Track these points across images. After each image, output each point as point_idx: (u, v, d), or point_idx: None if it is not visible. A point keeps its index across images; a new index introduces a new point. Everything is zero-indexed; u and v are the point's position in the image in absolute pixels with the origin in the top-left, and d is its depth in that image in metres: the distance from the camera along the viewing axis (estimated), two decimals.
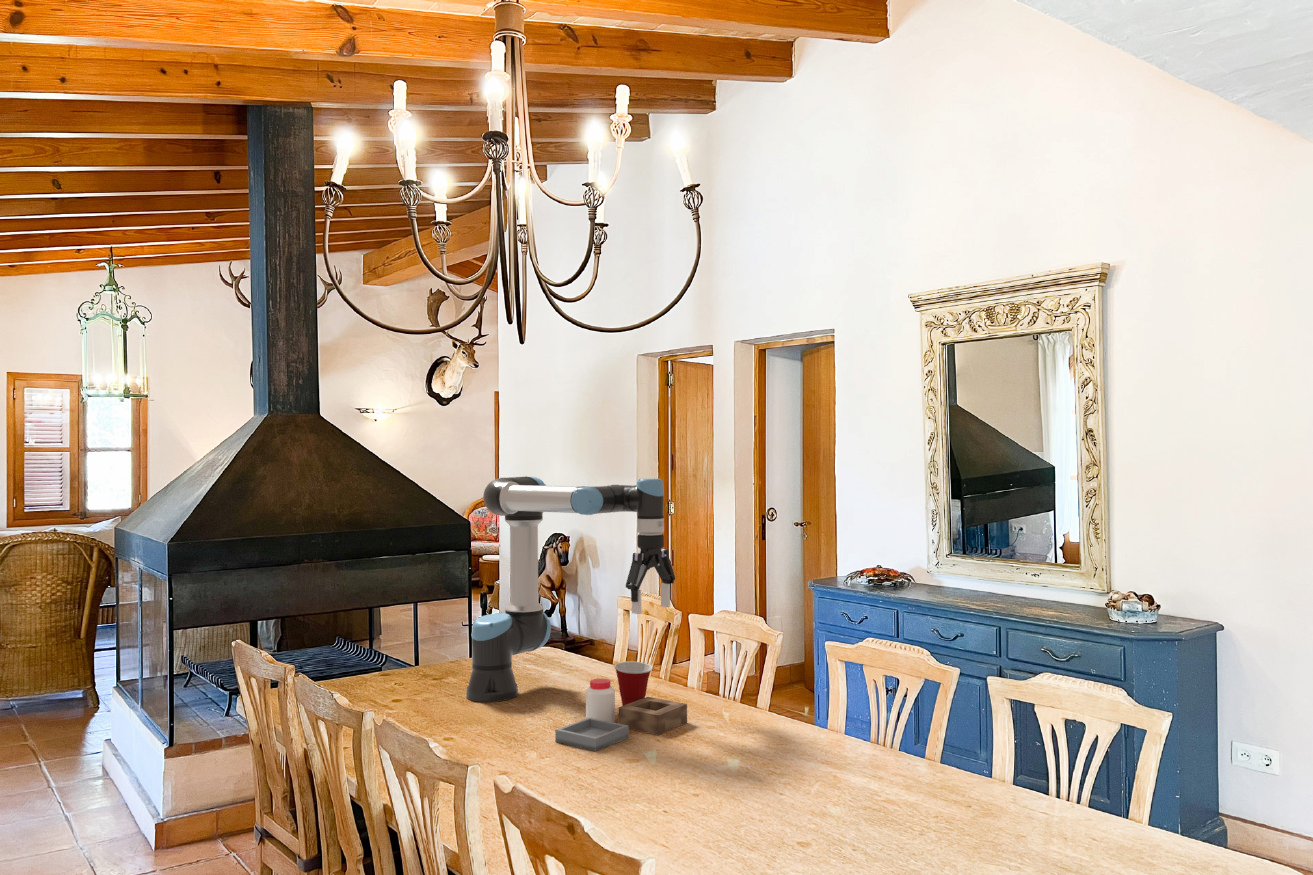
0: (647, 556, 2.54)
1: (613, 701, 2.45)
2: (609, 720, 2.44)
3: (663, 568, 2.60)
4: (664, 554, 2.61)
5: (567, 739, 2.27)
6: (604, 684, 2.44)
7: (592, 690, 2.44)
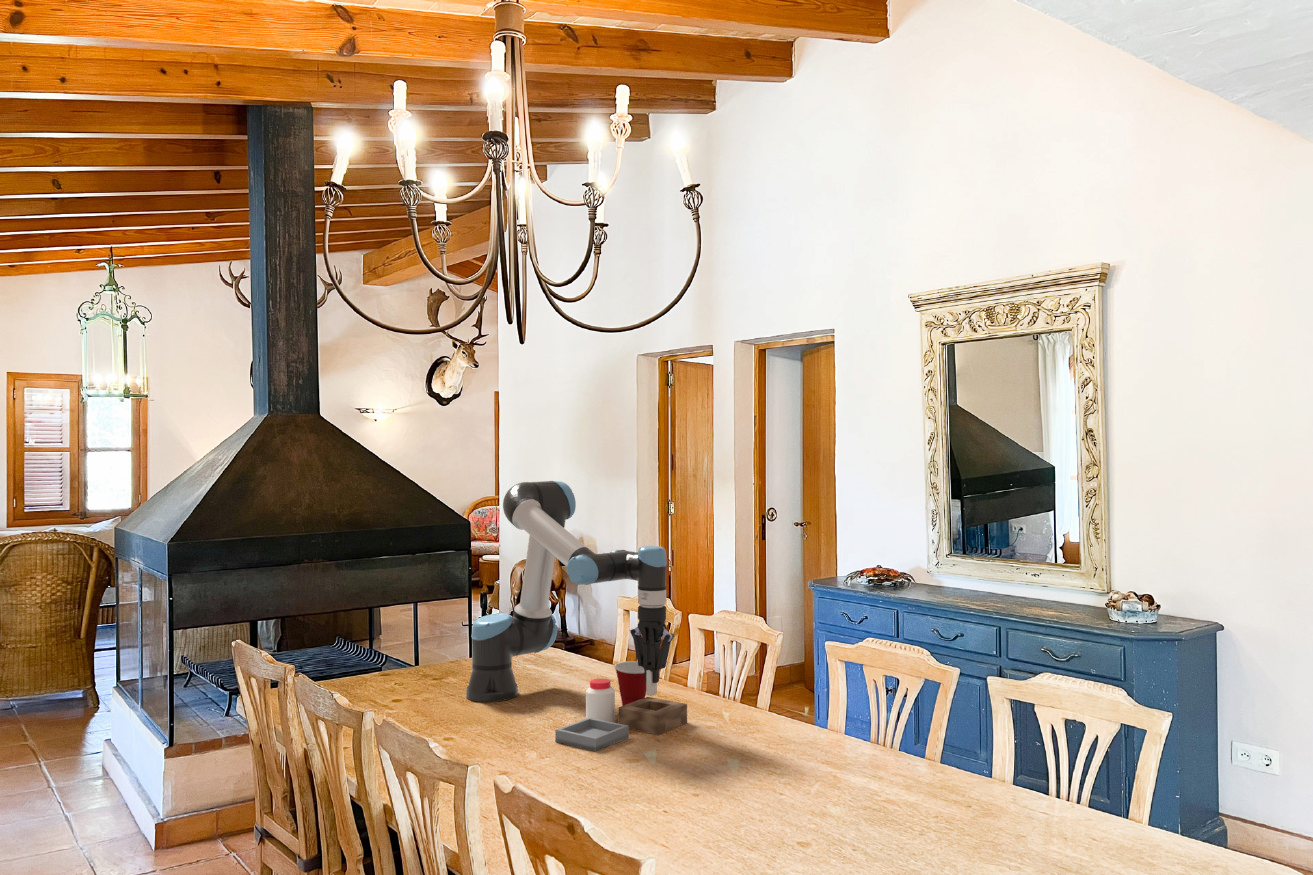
0: (640, 626, 2.45)
1: (613, 701, 2.45)
2: (609, 720, 2.44)
3: (652, 648, 2.42)
4: (664, 636, 2.41)
5: (567, 739, 2.27)
6: (604, 684, 2.44)
7: (592, 690, 2.44)
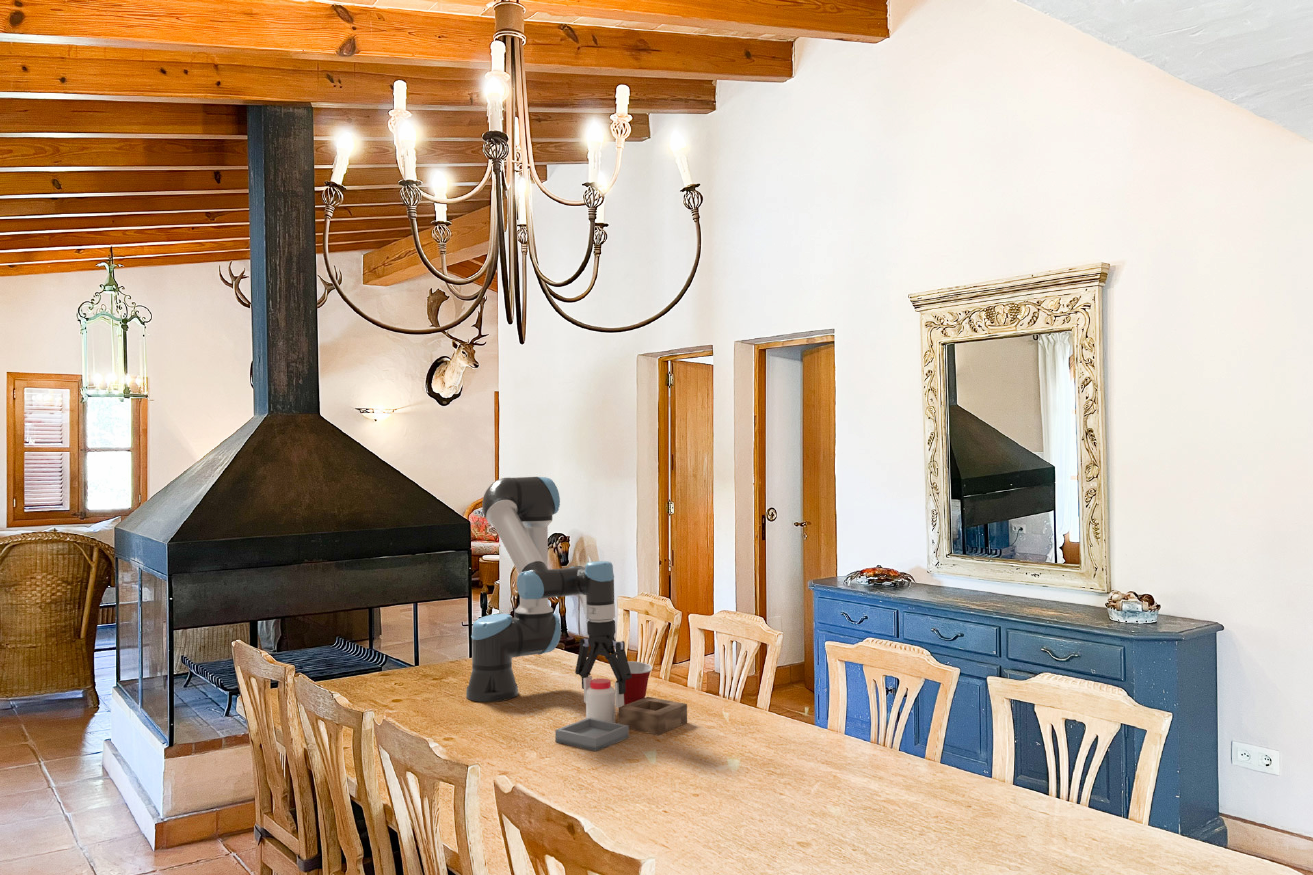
0: (590, 642, 2.47)
1: (613, 701, 2.45)
2: (609, 720, 2.44)
3: (610, 661, 2.43)
4: (615, 646, 2.43)
5: (567, 739, 2.27)
6: (604, 684, 2.44)
7: (592, 690, 2.44)
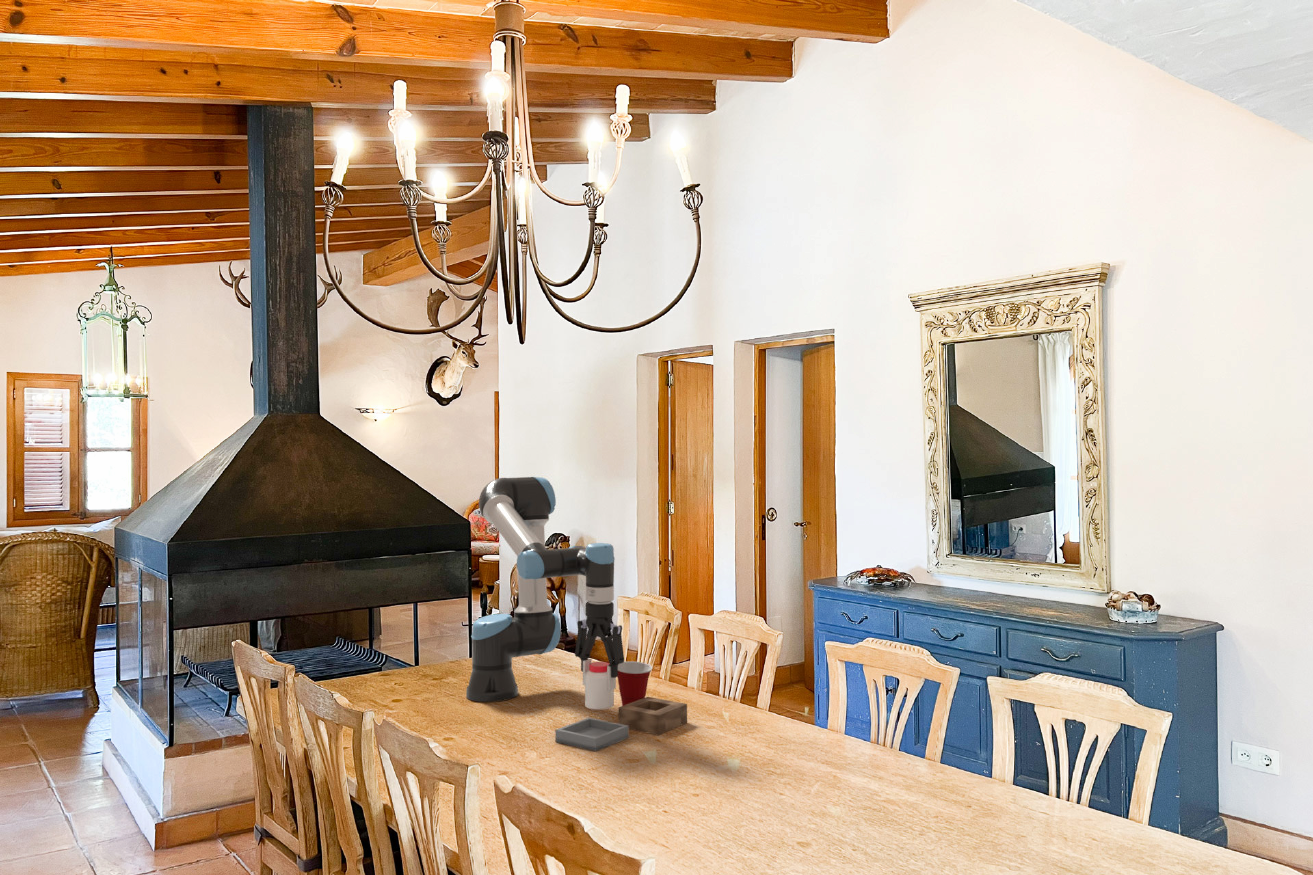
0: (588, 623, 2.48)
1: None
2: (608, 703, 2.44)
3: (605, 644, 2.44)
4: (612, 630, 2.43)
5: (567, 739, 2.27)
6: (603, 667, 2.45)
7: (592, 673, 2.45)
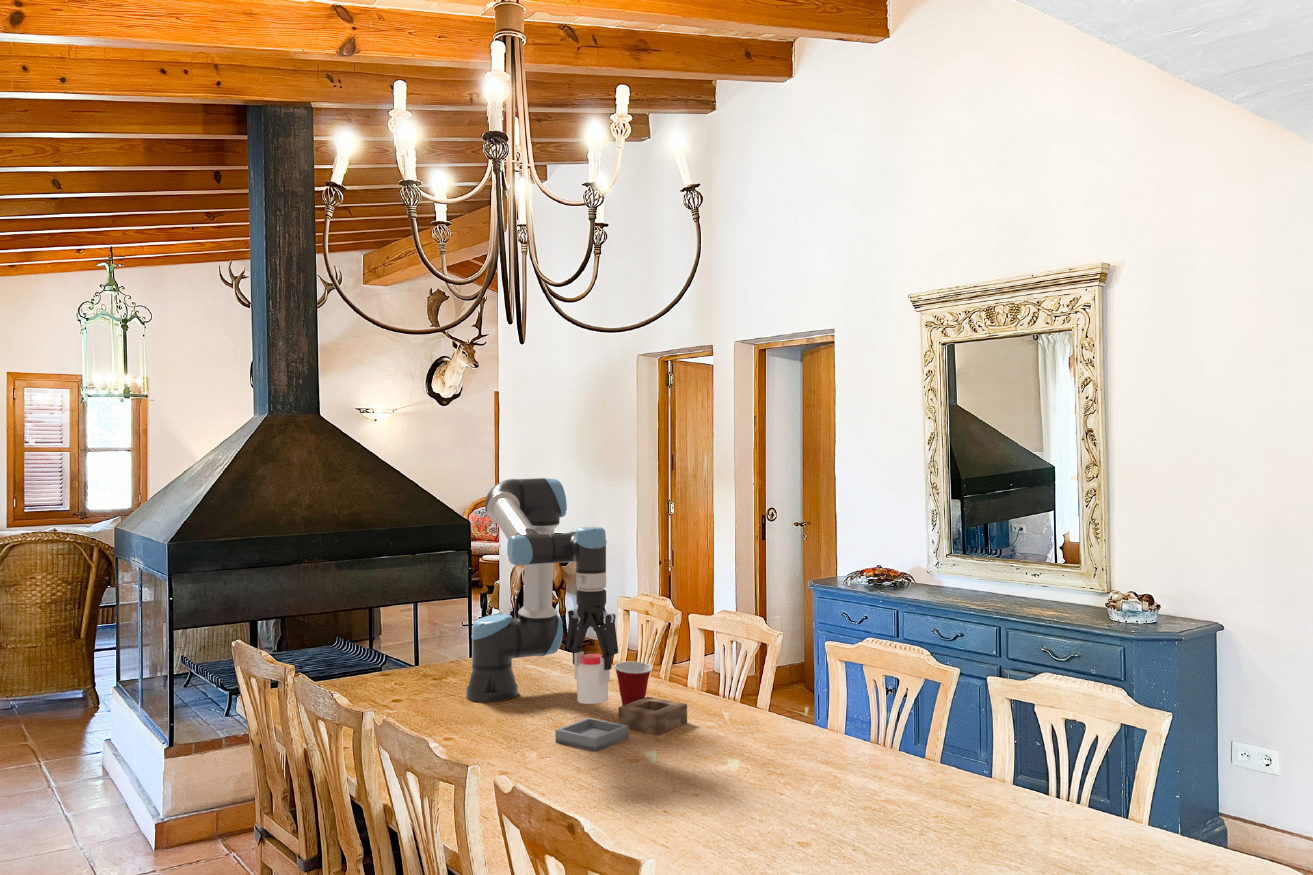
0: (579, 612, 2.33)
1: None
2: (602, 697, 2.29)
3: (598, 634, 2.29)
4: (605, 619, 2.28)
5: (567, 739, 2.27)
6: (596, 659, 2.29)
7: (584, 665, 2.29)
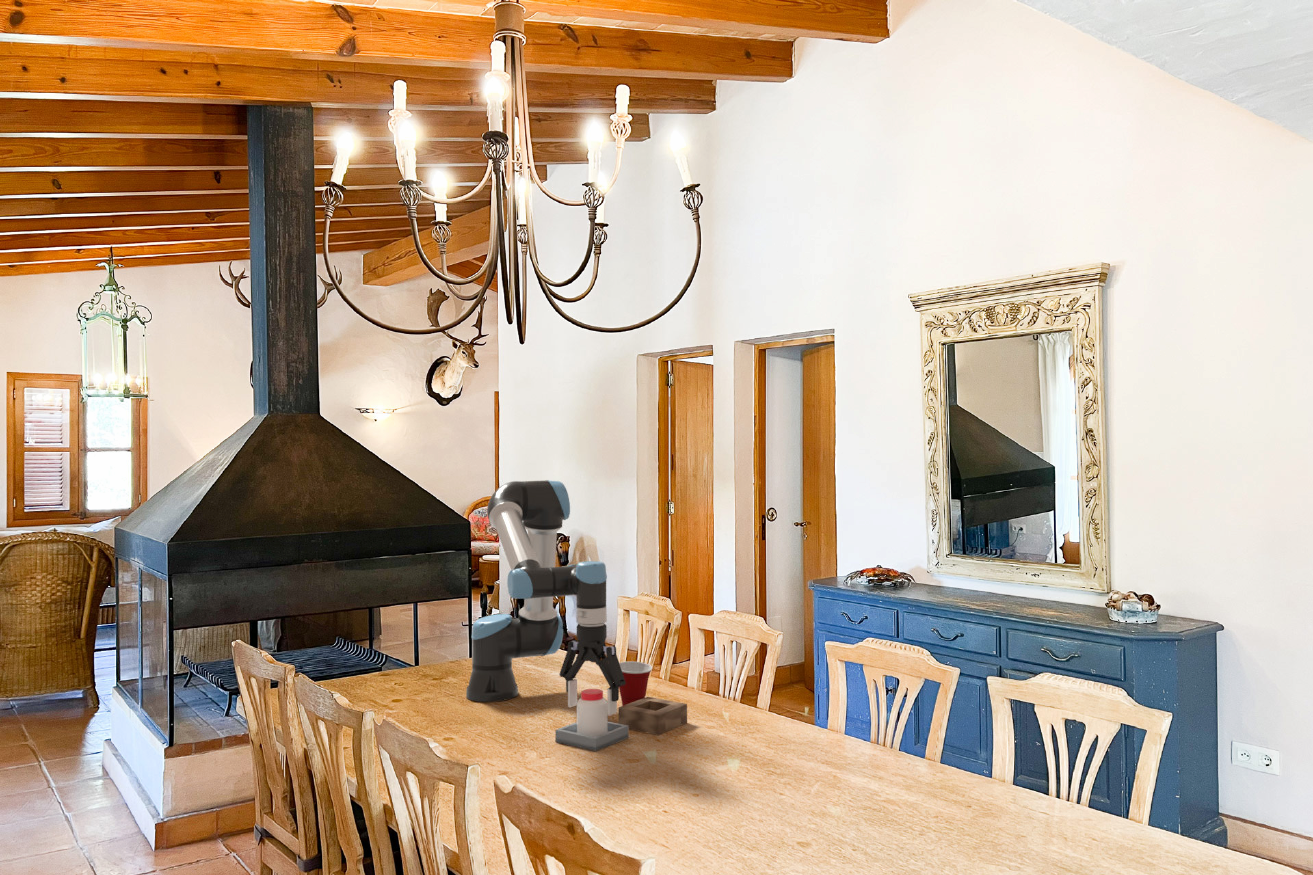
0: (579, 646, 2.32)
1: (606, 713, 2.30)
2: (602, 733, 2.29)
3: (601, 667, 2.28)
4: None
5: (567, 739, 2.27)
6: (596, 695, 2.29)
7: (584, 701, 2.29)
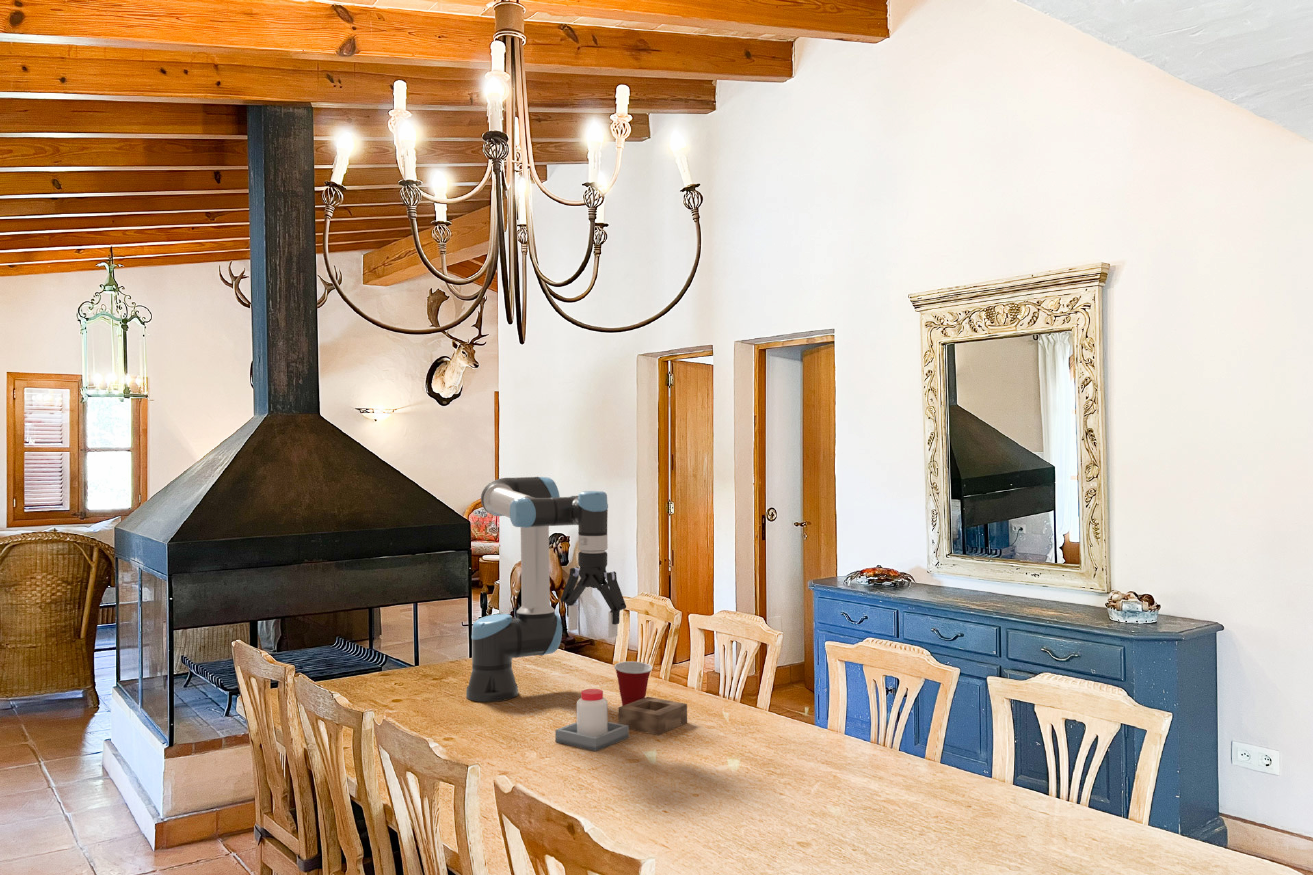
0: (580, 573, 2.39)
1: (606, 713, 2.30)
2: (602, 733, 2.29)
3: (602, 592, 2.35)
4: None
5: (567, 739, 2.27)
6: (596, 695, 2.29)
7: (584, 701, 2.29)
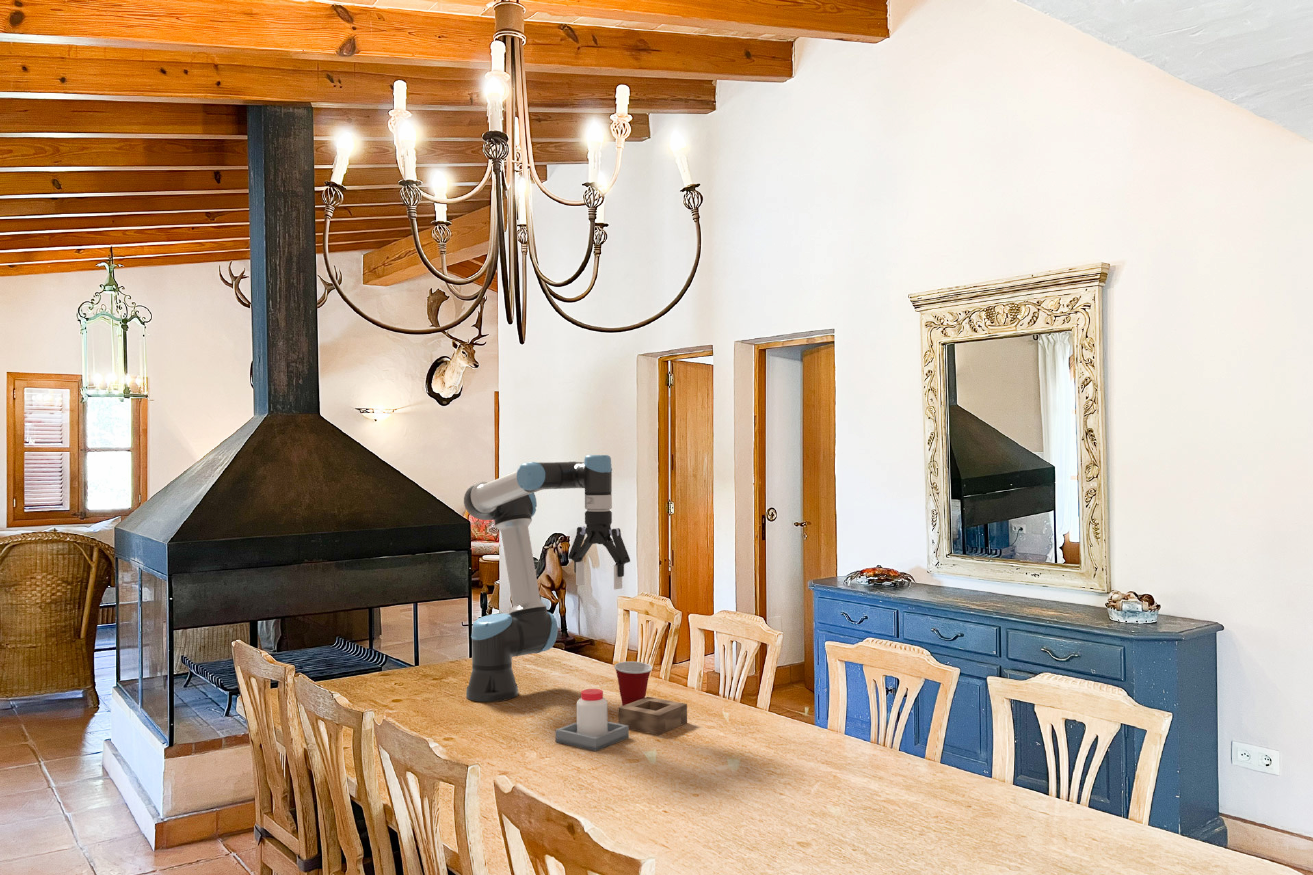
0: (587, 531, 2.57)
1: (606, 713, 2.30)
2: (602, 733, 2.29)
3: (607, 547, 2.53)
4: None
5: (567, 739, 2.27)
6: (596, 695, 2.29)
7: (584, 701, 2.29)
